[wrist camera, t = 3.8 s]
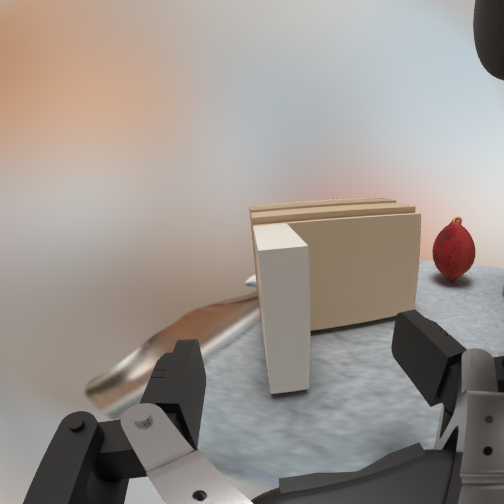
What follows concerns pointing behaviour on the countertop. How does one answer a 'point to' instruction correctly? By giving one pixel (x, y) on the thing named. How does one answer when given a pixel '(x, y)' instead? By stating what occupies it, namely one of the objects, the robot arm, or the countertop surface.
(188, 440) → the robot arm
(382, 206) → the kraft carton
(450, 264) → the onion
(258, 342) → the countertop surface
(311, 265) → the carton flap
